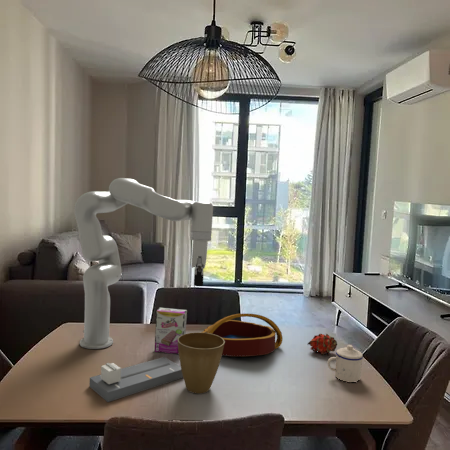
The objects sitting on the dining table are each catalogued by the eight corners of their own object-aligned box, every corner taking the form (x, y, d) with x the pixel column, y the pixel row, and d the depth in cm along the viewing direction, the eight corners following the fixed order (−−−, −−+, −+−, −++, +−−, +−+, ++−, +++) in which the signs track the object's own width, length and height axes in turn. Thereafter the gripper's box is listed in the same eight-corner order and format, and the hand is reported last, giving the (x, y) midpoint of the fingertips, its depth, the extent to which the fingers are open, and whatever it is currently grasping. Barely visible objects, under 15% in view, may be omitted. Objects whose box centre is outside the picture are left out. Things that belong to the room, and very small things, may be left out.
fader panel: (89, 386, 134) (89, 377, 134) (163, 365, 153) (164, 356, 153) (107, 402, 125) (108, 392, 125) (184, 377, 144) (184, 368, 144)
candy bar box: (153, 352, 164) (155, 310, 162) (157, 347, 169) (159, 307, 167) (182, 355, 163) (184, 313, 161) (185, 350, 168) (187, 309, 166)
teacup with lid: (355, 372, 156) (358, 341, 155) (364, 384, 147) (367, 351, 146) (323, 371, 155) (325, 340, 154) (330, 383, 146) (332, 350, 145)
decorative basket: (267, 340, 191) (266, 306, 191) (298, 356, 163) (298, 316, 164) (193, 347, 180) (192, 310, 180) (213, 365, 152) (213, 322, 153)
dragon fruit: (339, 358, 172) (308, 360, 173) (334, 340, 178) (305, 342, 179) (340, 346, 166) (309, 348, 167) (336, 328, 173) (306, 330, 174)
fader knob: (100, 378, 133) (101, 364, 132) (112, 374, 135) (112, 361, 135) (108, 384, 129) (109, 370, 129) (120, 380, 132) (121, 367, 131)
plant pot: (204, 404, 127) (207, 352, 126) (165, 390, 135) (167, 340, 133) (230, 386, 140) (233, 338, 138) (193, 373, 147) (195, 328, 146)
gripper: (191, 232, 163) (188, 277, 165) (189, 238, 146) (187, 287, 147) (210, 233, 164) (208, 277, 165) (211, 239, 146) (209, 288, 148)
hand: (198, 282), depth 156 cm, fingers open, 9 cm apart
